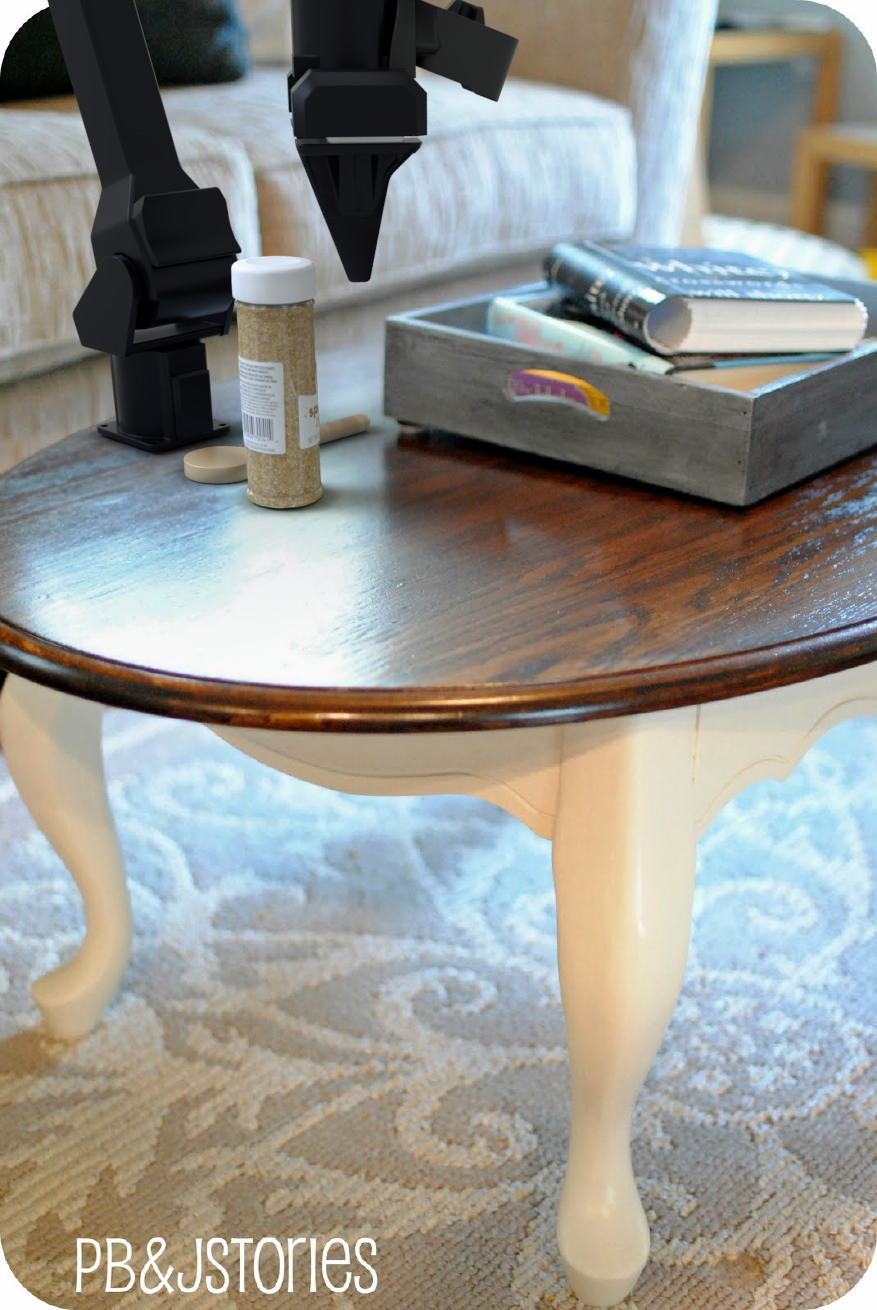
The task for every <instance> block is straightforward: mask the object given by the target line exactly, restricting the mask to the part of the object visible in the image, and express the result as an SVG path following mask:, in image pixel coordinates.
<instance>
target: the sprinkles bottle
mask: <svg viewBox="0 0 877 1310" xmlns="http://www.w3.org/2000/svg"><path fill="white" fill-rule="evenodd" d="M231 273H232V294H233V297H234V298H235V302H234V307H235V308H236V309H237V310H236V321H237V336H238V338H237V339H238V355H237V359H238V374H239V392H240V404H241V405H240V407H241V420H242V433H243V435H242V437H243V443H244V446H246V463H247V476H248V479H247V486H246V487H245V494H246V498H247V499H248V500H249V501H250V502H252V503H254V504H256V505H257V506H262V507H266V508H273V509H291V508H300V507H305V506H308V505H310V504H312V503H315V502H316V501H318V500H320V498H322V496H323V494H324V484H323V483H322V475H321V453H320V452H321V450H320V444H319V441H320V426H319V425H320V411H319V390H318V388H319V386H318V363H317V359H316V342H315V341H316V339H315V335H316V332H315V320H314V319H315V315H314V310H315V309H314V305H315V303H316V300H315V299H314V298H315V297H316V296H317V295H318V294H317V293H318V289H317V271H316V264H315V263H314V262H313V261H312V260H311V259H309V258H304V257H299V256H290V255H289V256H288V255H267V256H266V255H265V256H255V257H254V256H253V257H246V258H242V259H238V261H236V262H235V263H234V264H233V265H232V267H231Z"/></svg>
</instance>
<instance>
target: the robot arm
mask: <svg viewBox="0 0 877 1310" xmlns="http://www.w3.org/2000/svg"><path fill="white" fill-rule="evenodd" d="M46 1H47V4H48V8H49V11H50V14H51V18H52V21H53V25H54V29H55V32H56V34H57V38H58V42H59V45H60V48H61V52H62V56H63V58H64V62H65V65H66V69H67V72H68V76H69V79H70V83H71V86H72V89H73V93H74V96H75V98H76V99H75V100H76V103H77V106H78V109H79V113H80V117H81V121H82V123H83V127H84V131H85V133H86V137H87V141H88V143H89V147H90V150H91V154H92V157H93V160H94V164H95V167H96V171H97V175H98V178H99V183H100V188H101V190H100V195H99V198H98V204H97V207H96V212H95V216H94V220H93V223H92V226H91V227H92V228H91V231H90V244H91V248H92V249H91V250H92V253H93V258H94V263H95V268H96V270H95V271H94V273H93V275H92V277H91V278H90V280H89V282H88V284H87V285H86V287H85V290H83V293H82V295H81V296H80V298H79V300H78V301H77V304H76V305H75V307H74V308H73V311H72V315H71V316H72V319H73V320H72V321H73V323H74V327H75V329H76V332H77V336H78V339H79V343H80V345H81V346H82V347H84V348H87V349H91V350H94V351H99V352H101V353H102V352H103V353H106V354H109V364H110V365H109V366H110V375H111V376H110V377H111V385H112V393H113V405H114V414H115V420H112V421H109V422H105V423H101V424H97V425H96V432H97V434H99V435H102V436H104V437H108V438H111V439H113V440H117V441H120V442H122V443H125V444H127V445H128V444H129V445H131V446H134V447H137V448H140V449H143V450H146V451H149V452H160V451H164V450H168V449H172V448H175V447H180V446H183V445H186V444H190V443H193V442H198V441H201V440H205V439H208V438H212V437H216V436H219V435H223V434H227V433H230V432H231V424H230V423H229V422H226V421H221V420H219V419H215V418H214V413H213V411H214V410H213V399H212V385H211V384H212V383H211V372H210V370H209V368H208V358H207V357H208V355H207V344H206V343H205V342H202V340H204V339H209V338H213V337H225V336H228V335H229V334H230V331H231V330H230V329H231V324H232V319H233V314H234V308H235V304H234V302H236V299H235V298H234V297H233V294H232V273H231V267H232V265H233V264H234V263H235V262H236V261H238V260H239V258H238V256H237V255H239V254H242V253H243V251H242V247H241V246H240V244H239V242H238V240H237V238H236V236H235V233H234V231H233V228H232V224H231V221H230V215H229V208H228V203H227V199H226V197H225V196H224V194H223V192H222V191H221V189H220V188H219V187H218V186H212V187H202V188H201V187H200V186H199V185H198V184H197V183H196V182H195V180H194V179H192V177H190V175H189V174H188V173H187V172H186V171H185V170H184V168H183V166H182V164H181V162H180V159H179V155H178V152H177V148H176V145H175V140H174V137H173V134H172V130H171V126H170V124H169V119H168V116H167V113H166V112H167V111H166V109H165V108H166V107H165V105H164V103H163V99H162V95H161V91H160V88H159V84H158V79H157V77H156V73H155V69H154V66H153V62H152V59H151V55H150V52H149V48H148V45H147V42H146V37H145V34H144V30H143V27H142V26H143V25H142V24H141V19H140V15H139V13H138V9H137V6H136V1H135V0H46ZM289 10H290V30H291V31H290V33H291V69H290V70H289V71H288V73H286V85H287V86H286V89H287V107H288V108H287V109H288V113H290V114H291V118H290V124H291V129H292V134H293V137H295V138H294V144H295V145H294V146H295V149H296V151H297V154H298V156H299V159H300V161H301V164H302V166H303V168H304V172H305V173H306V176H307V179H308V181H309V184H310V186H311V189H312V191H313V194H314V197H315V199H316V202H317V204H318V207H319V209H320V212H321V215H322V217H323V219H324V221H325V224H326V226H327V229H328V231H329V235H330V237H331V240H332V242H333V244H334V247H335V249H336V253H337V254H338V257H339V259H340V263H341V265H342V267H343V270H344V272H345V275H346V277H347V281H348V282H350V283H368V282H370V280H371V278H372V273H373V269H374V263H375V257H376V252H377V245H378V242H379V236H380V231H381V227H382V220H383V214H384V209H385V205H386V201H387V200H386V199H387V195H388V189H389V186H390V185H389V184H390V180H391V178H392V177H393V175H394V173H395V172H396V171H397V170H398V169H400V167H401V166H402V165H403V164H405V162H406V161H407V160H408V159H409V158H411V156H412V155H414V154H416V153H418V151H419V150H420V149H421V148H422V145H423V141H422V140H421V139H420V138H419V137H423V136H428V92H427V91H426V90H425V89H424V88H423V86H422V85H420V84H419V82H418V81H417V80H416V78H417V68H419V69H422V70H424V71H427V72H430V73H432V74H435V75H438V76H440V77H442V78H445V79H448V80H450V81H452V82H455V83H458V84H460V86H461V88H462V89H463V90H465V91H468V92H471V93H473V94H474V95H476V96H480V97H482V98H484V99H487V100H489V101H493V102H495V103H498V102H499V101H500V96H501V93H502V91H503V88H504V86H505V82H506V79H507V76H508V74H509V72H510V71H509V70H510V68H511V65H512V62H513V59H514V57H515V54H516V51H517V49H518V45H519V43H520V39H518V38H517V37H515V36H512V35H510V34H508V33H505V32H503V31H501V30H498V29H495V28H492V27H490V26H488V25H486V19H485V10H484V7H483V6H480V5H476V4H473V3H470V2H468V1H465V0H450V1H449V3H447V4H446V5H445V7H444V8H443V7H440V6H439V5H438V6H437V5H435V4H433V3H430V2H428V1H426V0H289Z"/></svg>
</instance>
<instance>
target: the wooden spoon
mask: <svg viewBox="0 0 877 1310" xmlns="http://www.w3.org/2000/svg"><path fill="white" fill-rule="evenodd" d="M319 426H320V441H319V445H322V444H325V443H328V442H331V441H336V440H338V439H342V438H345V437H348V436H352V435H356V434H359V433H362V432H365V431H367V430H368V429H369V428H370V426H371V419H370V417H369V416H368V415H367V414H365V413H356V414H353V415H349V416H345V417H341V418H338V419H334V420H331V421H328V422H324V423H319ZM183 471H184V475H185V477H186V478H187V479H189V480H191V481H194V482H197V483H203V484H216V485H218V484H233V483H238V482H241V481H245V480H248V476H247V463H246V446H245V445H244V446H232V445H231V446H230V445H229V446H228V445H217V446H208V447H203V448H198V449H195V450H193V451H190V452H188V453H186V454H185V455H184V457H183Z"/></svg>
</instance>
